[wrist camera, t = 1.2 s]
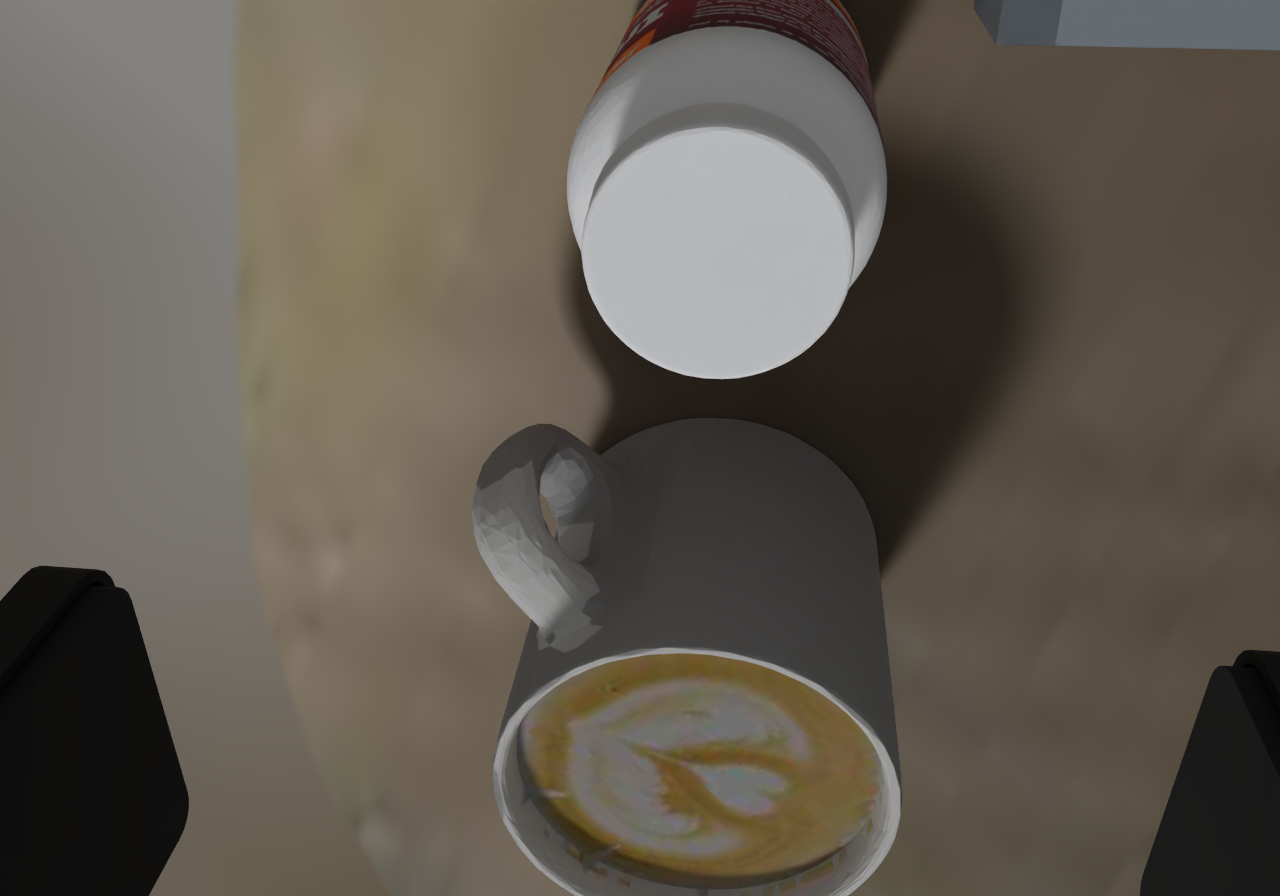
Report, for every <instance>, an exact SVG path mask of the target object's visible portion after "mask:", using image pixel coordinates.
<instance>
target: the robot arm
mask: <svg viewBox="0 0 1280 896" xmlns="http://www.w3.org/2000/svg"><path fill="white" fill-rule="evenodd" d="M188 810H189V798H188V792H187V788H186V785H185V782H184V778H183V774H182V771H181V768H180V764H179V761H178V757H177V754H176V751H175V747H174V744H173V740H172V737H171V733H170V730H169V726H168V724H167V720H166V716H165V713H164V710H163V706H162V703H161V700H160V696H159V693H158V689H157V685H156V682H155V679H154V675H153V672H152V669H151V665H150V661H149V658H148V655H147V651H146V648H145V644H144V641H143V638H142V634H141V631H140V627H139V624H138V620H137V617H136V614H135V610H134V607H133V604H132V600H131V598H130V596H129V594H128V592H127V591H125V589H123V588H119V587H115V585H114V583H113V580H112V578H111V577H110V576H109V575H108V574H107V573H106V572H105V571H101V570H95V569H81V568H67V567H53V566H39V567H35V568H32V569H31V570H29V571H28V572H27V573H26V574H25V575H23V576H22V577H21V578H20V580H19V581H18V582H17V583H16V584H15V585H14V586H13V587H12V589H11V590H10V591H9V592H8V593H7V594H6V595H5V596H4V597H3V599H2V600H1V601H0V896H149V894H150V892H151V890H152V889H153V887H154V885H155V883H156V881H157V879H158V878H159V876H160V874H161V872H162V870H163V868H164V867H165V865H166V863H167V861H168V859H169V857H170V856H171V853H172V852H173V850H174V848H175V846H176V844H177V843H178V841H179V839H180V837H181V835H182V833H183V830H184V828H185V824H186V820H187V816H188ZM1140 896H1280V652H1274V651H1259V650H1246V651H1243V652H1242V653H1241V654H1240V655H1239V656H1238V657H1237V659H1236V661H1235V663H1234V665H1233V666H1218V667H1217V668H1216V669H1215V670H1214V671H1213V673H1212V676H1211V678H1210V680H1209V683H1208V686H1207V689H1206V692H1205V695H1204V698H1203V701H1202V704H1201V707H1200V710H1199V712H1198V715H1197V718H1196V721H1195V724H1194V727H1193V730H1192V733H1191V736H1190V739H1189V742H1188V745H1187V747H1186V750H1185V753H1184V756H1183V759H1182V762H1181V765H1180V768H1179V771H1178V774H1177V777H1176V780H1175V782H1174V785H1173V788H1172V791H1171V794H1170V797H1169V800H1168V803H1167V806H1166V809H1165V812H1164V815H1163V817H1162V820H1161V823H1160V826H1159V829H1158V832H1157V835H1156V838H1155V841H1154V844H1153V847H1152V850H1151V852H1150V855H1149V858H1148V861H1147V864H1146V867H1145V870H1144V873H1143V876H1142V881H1141V888H1140Z"/></svg>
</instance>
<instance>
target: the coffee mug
mask: <svg viewBox="0 0 1280 896" xmlns="http://www.w3.org/2000/svg"><path fill="white" fill-rule="evenodd" d="M539 492H540V493H541V494H542V495H543V496H544V497H545V498H546V500H547V502H548V504H549V506H550V508H551V510H552V512H553V514H554V516H555V519H556V521H557V532H556V535H555V539H554V538H553V536H552V535H551V534H550V532H549V529H548V527H547V525H546V523H545V520H544V518H543V514H542V509H541V504H540V499H539ZM472 517H473V530H474V535H475V538H476V542H477V545H478V549H479V552H480V554H481V555H482V557H483V559H484V561H485V562H486V564H487V566H488V568H489V569H490V571H491V573H492V575H493V576H494V578H495V580H496V581H497V582H498V583H499V584H500V585H501V587H502V588H503V589H504V590H505V591H506V592H507V594H508V595H509V596H510V597H511V598H512V599H513V601H514V602H515V603H516V604H517V605H518V606H519V607H520V608H521V609H522V610H523V611H524V612H525V613H526V614H527V615H528V616H529V617H530V618H531V623H530V626H529V630H528V633H527V637H526V640H525V644H524V647H523V651H522V654H521V657H520V661H519V664H518V668H517V671H516V675H515V678H514V682H513V685H512V689H511V692H510V696H509V699H508V703H507V706H506V710H505V713H504V717H503V720H502V724H501V727H500V731H499V736H498V740H497V744H496V748H495V752H494V760H493V777H492V779H493V788H494V796H495V799H496V802H497V805H498V808H499V812H500V815H501V817H502V820H503V822H504V824H505V825H506V827H507V829H508V831H509V833H510V835H511V837H512V838H513V840H514V841H515V842H516V844H517V845H518V846H519V848H520V849H521V850H522V851H523V853H524V854H525V855H526V856H527V857H528V858H529V859H530V860H531V862H532V863H533V864H534V865H535V866H536V867H537V868H538V869H539V870H541V871H542V872H543V873H544V874H545V875H547V876H548V877H549V878H550V879H551V880H553V881H554V882H555V883H557V884H558V885H560V886H562V887H563V888H565V889H566V890H568V891H569V892H571V893H572V894H574V895H575V896H847V895H849V894H851V893H852V892H853V891H854V890H855V889H856V888H858V887H859V886H860V885H861V884H862V883H863V882H865V881H866V880H867V879H868V878H869V877H870V875H871V874H872V873H873V872H874V871H875V870H876V869H877V868H878V866H879V865H880V864H881V862H882V861H883V859H884V858H885V856H886V855H887V853H888V852H889V850H890V848H891V846H892V844H893V841H894V839H895V836H896V833H897V829H898V826H899V822H900V815H901V805H902V788H901V771H900V762H899V752H898V743H897V733H896V724H895V714H894V704H893V695H892V685H891V676H890V666H889V657H888V647H887V638H886V628H885V619H884V609H883V599H882V590H881V580H880V571H879V561H878V552H877V542H876V536H875V530H874V526H873V523H872V520H871V517H870V514H869V512H868V509H867V507H866V504H865V502H864V500H863V498H862V497H861V495H860V493H859V492H858V490H857V488H856V487H855V485H854V484H853V483H852V482H851V480H850V479H849V478H848V477H847V476H846V475H845V474H844V473H843V472H842V471H841V469H840V468H839V467H838V466H837V465H836V464H835V463H834V462H833V461H831V460H830V459H829V458H828V457H826V456H825V455H824V454H823V453H821V452H819V451H818V450H816V449H815V448H813V447H811V446H810V445H808V444H807V443H805V442H803V441H802V440H800V439H799V438H797V437H794V436H792V435H790V434H788V433H786V432H783V431H780V430H777V429H774V428H771V427H768V426H765V425H762V424H758V423H754V422H749V421H744V420H739V419H726V418H693V419H682V420H677V421H673V422H669V423H665V424H661V425H657V426H654V427H651V428H648V429H646V430H643V431H640V432H638V433H636V434H634V435H632V436H630V437H628V438H626V439H624V440H622V441H620V442H619V443H617V444H616V445H614V446H613V447H611V448H610V449H608V450H607V451H605V452H604V453H603V454H602V455H599V454H598V453H596V452H595V451H594V450H592V449H591V448H590V447H589V446H587V445H586V444H585V443H584V442H582V441H581V440H579V439H578V438H576V437H575V436H574V435H572V434H571V433H569V432H568V431H566V430H565V429H562V428H560V427H557V426H555V425H552V424H537V425H533V426H529V427H527V428H525V429H523V430H521V431H519V432H517V433H516V434H514V435H512V436H511V437H509V438H508V439H507V440H505V441H504V442H503V443H502V444H501V445H500V446H499V447H498V448H497V449H496V450H495V451H493V452H492V454H491V455H490V457H489V458H488V459H487V461H486V462H485V463H484V465H483V467H482V470H481V472H480V475H479V478H478V481H477V484H476V488H475V494H474V500H473V506H472Z"/></svg>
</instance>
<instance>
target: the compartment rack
mask: <svg viewBox="0 0 1280 896" xmlns="http://www.w3.org/2000/svg"><path fill="white" fill-rule="evenodd" d="M974 10H975V11H976V13H977V15H978V16H979V18H980V19H981V21H982V23H983V24H984V26H985V27H986V29H987V30H988V32H989V34H990V35H991V37H992V38H993V40H994V42H995V43H996V44H1010V45H1057V46H1105V47H1153V48H1201V49H1249V50H1280V0H975V6H974Z"/></svg>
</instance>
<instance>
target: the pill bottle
mask: <svg viewBox="0 0 1280 896" xmlns="http://www.w3.org/2000/svg"><path fill="white" fill-rule="evenodd" d="M886 199H887V168H886V159H885V151H884V146H883V141H882V137H881V132H880V127H879V121H878V117H877V111H876V105H875V100H874V94H873V89H872V82H871V77H870V73H869V68H868V63H867V58H866V54H865V50H864V47H863V44H862V41H861V39H860V36H859V34H858V31H857V29H856V27H855V25H854V23H853V21H852V19H851V17H850V15H849V14H848V12H847V11H846V10H845V8H844V7H843V5H842V4H841V2H840V1H839V0H647V1H646V3H645V4H644V5H643V6H642V8H641V9H640V10H639V12H638V13H637V14H636V16H635V17H634V19H633V21H632V22H631V24H630V26H629V28H628V29H627V31H626V33H625V35H624V37H623V39H622V41H621V44H620V46H619V48H618V50H617V52H616V54H615V56H614V58H613V60H612V61H611V63H610V65H609V67H608V69H607V71H606V73H605V75H604V77H603V79H602V81H601V83H600V85H599V87H598V89H597V90H596V92H595V94H594V96H593V98H592V100H591V102H590V103H589V105H588V107H587V109H586V111H585V113H584V115H583V117H582V120H581V122H580V125H579V127H578V130H577V132H576V135H575V138H574V141H573V144H572V147H571V152H570V158H569V164H568V172H567V200H568V208H569V214H570V218H571V222H572V227H573V231H574V234H575V237H576V240H577V243H578V245H579V248H580V250H581V255H582V263H583V270H584V276H585V279H586V283H587V287H588V290H589V293H590V295H591V298H592V300H593V302H594V304H595V306H596V308H597V309H598V311H599V313H600V315H601V316H602V318H603V320H604V321H605V323H606V324H607V325H608V326H609V327H610V329H611V330H612V331H613V332H614V334H615V335H616V336H618V337H619V338H620V339H621V340H622V341H623V342H624V343H625V344H626V345H627V346H628V347H630V348H631V349H632V350H633V351H635V352H636V353H637V354H639V355H640V356H642V357H644V358H645V359H647V360H648V361H650V362H652V363H654V364H656V365H659V366H661V367H663V368H665V369H668V370H671V371H674V372H677V373H680V374H683V375H687V376H693V377H699V378H709V379H733V378H741V377H746V376H752V375H755V374H759V373H762V372H765V371H768V370H771V369H773V368H776V367H778V366H781V365H783V364H785V363H787V362H789V361H790V360H792V359H794V358H795V357H797V356H798V355H800V354H802V353H803V352H804V351H805V350H807V349H808V348H809V347H810V346H812V345H813V344H814V343H815V342H816V341H817V340H818V339H819V338H820V337H821V336H822V335H823V334H824V333H825V332H826V330H827V329H828V327H829V326H830V325H831V323H832V322H833V320H834V319H835V317H836V316H837V314H838V312H839V310H840V308H841V306H842V304H843V302H844V300H845V298H846V295H847V292H848V289H849V288H850V287H851V285H852V284H853V283H854V282H855V280H856V279H857V277H858V276H859V275H860V273H861V272H862V270H863V269H864V267H865V266H866V264H867V262H868V260H869V258H870V256H871V254H872V252H873V250H874V247H875V245H876V242H877V240H878V237H879V234H880V231H881V227H882V224H883V220H884V214H885V208H886Z"/></svg>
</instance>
